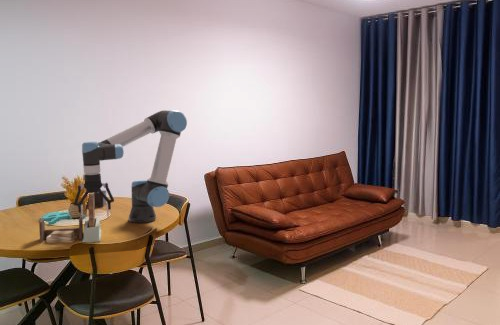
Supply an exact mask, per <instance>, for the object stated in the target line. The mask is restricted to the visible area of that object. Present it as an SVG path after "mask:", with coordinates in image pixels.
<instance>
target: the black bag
mask: <svg viewBox="0 0 500 325" xmlns="http://www.w3.org/2000/svg"><path fill="white" fill-rule="evenodd" d="M102 192H103V193H104V194H105V195H106V196H107V190H102ZM106 203H107V201H106V200H105V199H104V198H103V197H102V195H101V194H100V193H99V192H96V193H95V192H94V205H95V208H104V207H105V206H106ZM86 208H89V202H87V201H86Z"/></svg>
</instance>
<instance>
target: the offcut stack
mask: <svg viewBox="0 0 500 325" xmlns="http://www.w3.org/2000/svg"><path fill="white" fill-rule="evenodd" d="M77 237H78V236H75V237H74V231H54V232H53V233H51V235H49V236H47V237H46V243H74V242H75V241H76V240H77Z"/></svg>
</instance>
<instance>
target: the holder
mask: <svg viewBox="0 0 500 325" xmlns="http://www.w3.org/2000/svg"><path fill="white" fill-rule="evenodd" d="M100 220H101V219H100V217H95V227H90V228H89V217H88V218H85V220H84V224H83V237H82V240H81V242H86V243H97V242H101V241H102V240H101V239H102V228H101V224H100V223H101V221H100Z"/></svg>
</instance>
